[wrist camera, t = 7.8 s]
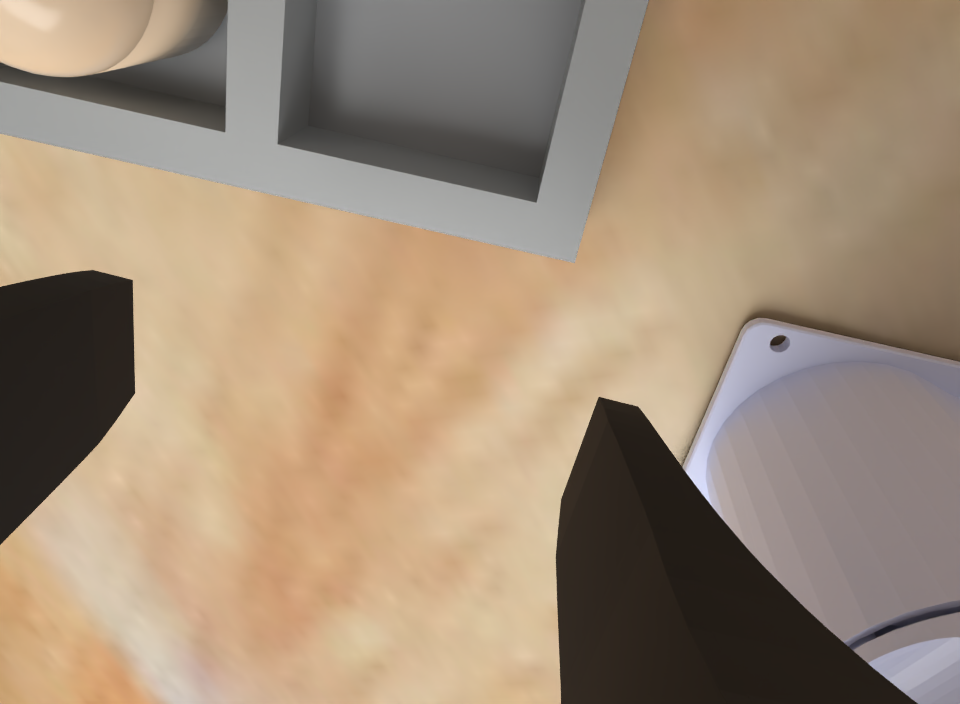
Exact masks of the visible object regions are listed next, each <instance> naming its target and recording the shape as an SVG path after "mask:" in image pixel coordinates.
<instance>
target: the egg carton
mask: <svg viewBox="0 0 960 704" xmlns="http://www.w3.org/2000/svg"><path fill="white" fill-rule="evenodd" d="M648 1H649V0H228V10H227V13H226V16H225V17H224V19H223V21H222V23H221V25H220V27H219V28H218V29H217V31H216V32H215V33H214V35H213V36H212V37H211V38H210V39H209V40H208V41H207V42H205V43H204V44H203V45H201V46H200V47H199V48H197V49H195V50H193V51H191V52H189V53H186V54H183V55H180V56H176V57H171V58H167V59H162V60H157V61H153V62H148V63H143V64H139V65H134V66H130V67H125V68H120V69H116V70H111V71H107V72H102V73H97V74H93V75H86V76H78V77H53V76H46V75H39V74H33V73H30V72H27V71H23V70H20V69H17V68H14V67H11V66H8V65H6V64H4V63H1V62H0V134H4V135H9V136H13V137H18V138H22V139H27V140H31V141H36V142H40V143H44V144H49V145H53V146H58V147H62V148H67V149H71V150H75V151H80V152H84V153H89V154H93V155H98V156H102V157H107V158H111V159H115V160H120V161H124V162H129V163H133V164H138V165H142V166H146V167H151V168H155V169H160V170H164V171H169V172H173V173H178V174H182V175H186V176H191V177H195V178H200V179H204V180H209V181H213V182H217V183H222V184H226V185H231V186H235V187H240V188H244V189H249V190H253V191H257V192H262V193H266V194H271V195H275V196H280V197H284V198H288V199H293V200H297V201H302V202H306V203H311V204H315V205H320V206H324V207H328V208H333V209H337V210H342V211H346V212H351V213H355V214H359V215H364V216H368V217H373V218H377V219H382V220H386V221H391V222H395V223H399V224H404V225H408V226H413V227H417V228H422V229H426V230H430V231H435V232H439V233H444V234H448V235H453V236H457V237H462V238H466V239H470V240H475V241H479V242H484V243H488V244H493V245H497V246H501V247H506V248H510V249H515V250H519V251H524V252H528V253H533V254H537V255H541V256H546V257H550V258H555V259H559V260H564V261H568V262H572V263H575V260H576V256H577V252H578V249H579V245H580V242H581V238H582V235H583V231H584V228H585V224H586V221H587V217H588V214H589V210H590V207H591V203H592V199H593V196H594V192H595V189H596V185H597V182H598V178H599V175H600V171H601V168H602V164H603V161H604V157H605V154H606V150H607V146H608V143H609V139H610V136H611V132H612V129H613V125H614V122H615V118H616V115H617V111H618V108H619V104H620V100H621V97H622V93H623V90H624V86H625V83H626V79H627V76H628V72H629V69H630V65H631V62H632V58H633V55H634V51H635V47H636V44H637V40H638V37H639V33H640V30H641V26H642V23H643V19H644V16H645V12H646V9H647V5H648Z"/></svg>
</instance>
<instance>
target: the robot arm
mask: <svg viewBox="0 0 960 704" xmlns="http://www.w3.org/2000/svg"><path fill="white" fill-rule="evenodd" d="M778 335H784V336H786V339H785V341H784V342H783V343H782V344H780V345H777V346H772V345H770V341H771V340H772V339H773V338H774V337H776V336H778ZM134 394H135V372H134V325H133V280H130V279H126V278H122V277H118V276H114V275H110V274H106V273H102V272H98V271H94V270H90V271H80V272H72V273H66V274H60V275H55V276H50V277H44V278H39V279H35V280H30V281H25V282H20V283H16V284H11V285H7V286H2V287H0V545H1V544H2V543H3V542H4V541H5V539H6V538H7V537H8V536H9V535H10V534H11V533H12V532H13V531H14V530H15V529H16V528H17V527H18V526H19V525H20V524H21V523H22V522H23V521H24V520H25V519H26V518H27V517H28V516H29V515H30V514H31V513H32V512H33V511H34V510H35V509H36V508H37V507H38V506H39V505H40V504H41V503H42V502H43V501H44V500H45V499H46V498H47V497H48V496H49V495H50V494H51V493H52V492H53V491H54V490H55V489H56V488H57V487H58V486H59V485H60V484H61V483H62V482H63V480H64V479H65V478H66V477H67V476H68V475H69V474H70V473H71V472H72V471H73V470H74V469H75V468H76V467H77V466H78V465H79V464H80V463H81V462H82V461H83V460H84V459H85V458H86V457H87V456H88V454H89V453H90V452H91V451H92V450H93V449H94V448H95V447H96V446H97V445H98V444H99V443H100V441H101V440H102V439H103V437H104V436H105V435H106V433H107V432H108V431H109V429H110V428H111V427H112V425H113V424H114V423H115V421H116V420H117V418H118V417H119V416H120V414H121V413H122V411H123V410H124V408H125V407H126V405H127V404H128V402H129V401H130V400H131V398H132V397H133V395H134ZM556 576H557V605H558V629H559V654H560V679H561V704H960V362H958V361H954V360H950V359H945V358H941V357H936V356H932V355H927V354H923V353H919V352H914V351H910V350H905V349H901V348H896V347H892V346H887V345H883V344H879V343H874V342H870V341H865V340H861V339H856V338H852V337H847V336H843V335H839V334H834V333H830V332H825V331H821V330H816V329H812V328H808V327H803V326H799V325H794V324H790V323H785V322H781V321H776V320H772V319H768V318H756V319H753V320H751V321H749V322H748V323H746V324H745V325H744V327H743V328H742V330H741V332H740V334H739V336H738V339H737V341H736V343H735V346H734V348H733V350H732V353H731V355H730V357H729V360H728V362H727V364H726V367H725V369H724V371H723V374H722V376H721V378H720V381H719V383H718V385H717V388H716V390H715V392H714V395H713V397H712V399H711V401H710V404H709V406H708V408H707V411H706V413H705V415H704V418H703V420H702V422H701V425H700V427H699V429H698V432H697V434H696V436H695V439H694V441H693V443H692V446H691V448H690V450H689V453H688V455H687V457H686V460H685V462H684V464H683V467H682V466H681V465H680V464H679V462H678V461H677V460H676V458H675V457H674V455H673V454H672V452H671V451H670V450H669V448H668V447H667V445H666V444H665V443H664V441H663V440H662V438H661V437H660V436H659V434H658V433H657V431H656V430H655V429H654V427H653V426H652V424H651V423H650V422H649V420H648V419H647V417H646V416H645V415H644V413H643V412H642V411H641V410H640V408H639V407H637V406H633V405H629V404H625V403H621V402H617V401H613V400H609V399H605V398H601V397H599V398H598V400H597V403H596V406H595V409H594V411H593V414H592V417H591V420H590V422H589V425H588V428H587V430H586V433H585V436H584V439H583V441H582V444H581V447H580V450H579V452H578V455H577V458H576V461H575V463H574V466H573V469H572V471H571V474H570V477H569V480H568V482H567V485H566V488H565V491H564V493H563V496H562V499H561V508H560V517H559V527H558V538H557V550H556Z"/></svg>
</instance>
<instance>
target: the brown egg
mask: <svg viewBox="0 0 960 704" xmlns="http://www.w3.org/2000/svg"><path fill="white" fill-rule="evenodd" d="M227 10H228V0H0V62H1V63H4V64H6V65H8V66H11V67H14V68H17V69H20V70H23V71H27V72H30V73H33V74H39V75H46V76H53V77H78V76H86V75H93V74H97V73H102V72H107V71H111V70H116V69H120V68H125V67H130V66H134V65H139V64H143V63H148V62H153V61H157V60H162V59H167V58H171V57H176V56H180V55H183V54H186V53H189V52H191V51H193V50H195V49H197V48H199V47H200V46H201V45H203V44H204V43H205V42H207V41H208V40H209V39H210V38H211V37H212V36H213V35H214V33H215V32H216V31H217V29H218V28H219V27H220V25H221V23H222V21H223V19H224V17H225V16H226V13H227Z"/></svg>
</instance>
